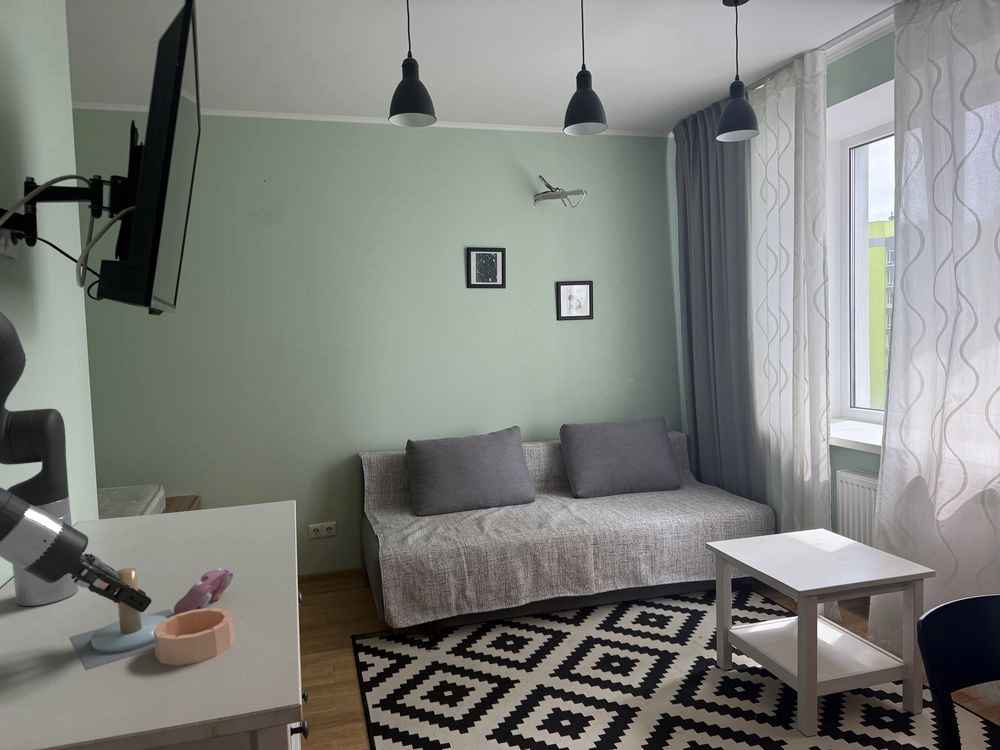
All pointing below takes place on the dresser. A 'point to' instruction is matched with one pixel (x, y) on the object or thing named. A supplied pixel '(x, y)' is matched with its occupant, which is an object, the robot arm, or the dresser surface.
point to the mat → (98, 658)
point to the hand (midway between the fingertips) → (143, 602)
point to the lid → (126, 624)
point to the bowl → (194, 636)
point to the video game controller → (204, 591)
